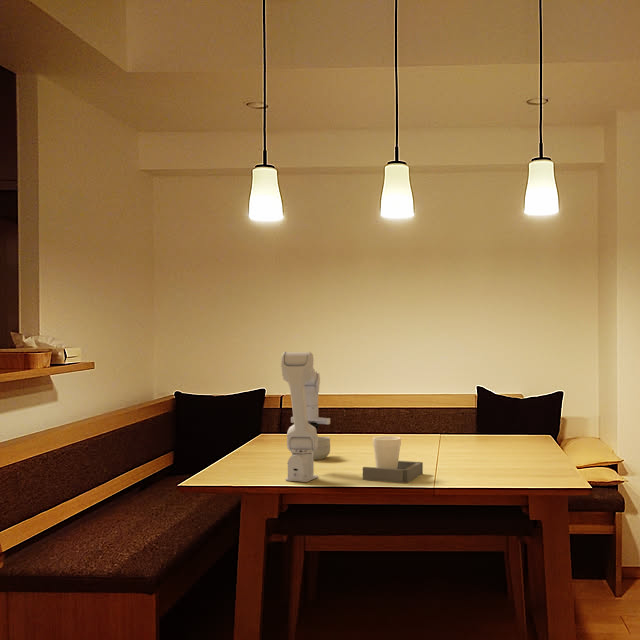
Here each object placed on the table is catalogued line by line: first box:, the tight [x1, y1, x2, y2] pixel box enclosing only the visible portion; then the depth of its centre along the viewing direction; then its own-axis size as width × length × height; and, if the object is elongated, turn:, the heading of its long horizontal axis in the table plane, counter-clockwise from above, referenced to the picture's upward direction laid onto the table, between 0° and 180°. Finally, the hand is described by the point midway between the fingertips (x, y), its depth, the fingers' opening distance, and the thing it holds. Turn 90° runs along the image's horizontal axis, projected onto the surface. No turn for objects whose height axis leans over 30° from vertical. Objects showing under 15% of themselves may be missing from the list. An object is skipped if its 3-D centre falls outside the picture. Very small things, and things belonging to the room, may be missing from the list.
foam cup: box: [372, 435, 402, 469], centre depth 280 cm, size 10×9×13 cm
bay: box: [362, 460, 424, 484], centre depth 279 cm, size 17×16×4 cm
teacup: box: [313, 436, 331, 461], centre depth 318 cm, size 14×11×8 cm
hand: (310, 443), depth 292 cm, fingers closed
